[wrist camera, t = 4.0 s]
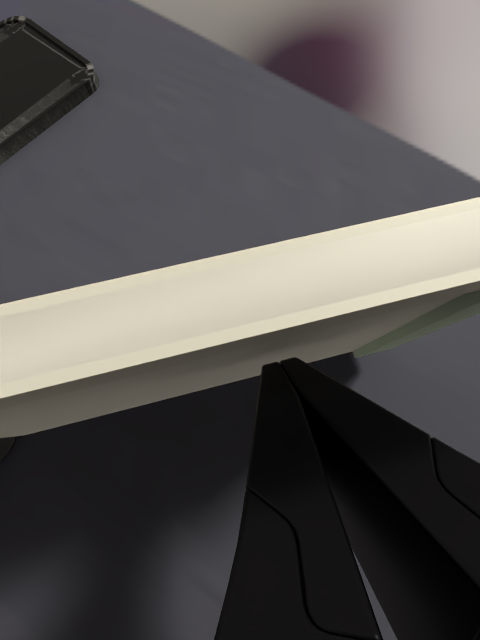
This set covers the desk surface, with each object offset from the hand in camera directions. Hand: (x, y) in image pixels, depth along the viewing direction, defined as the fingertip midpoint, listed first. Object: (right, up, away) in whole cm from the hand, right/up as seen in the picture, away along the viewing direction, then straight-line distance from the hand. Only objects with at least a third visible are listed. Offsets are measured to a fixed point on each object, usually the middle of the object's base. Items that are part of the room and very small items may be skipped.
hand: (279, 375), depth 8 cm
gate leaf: (-2, -1, +6) cm, 6 cm away
